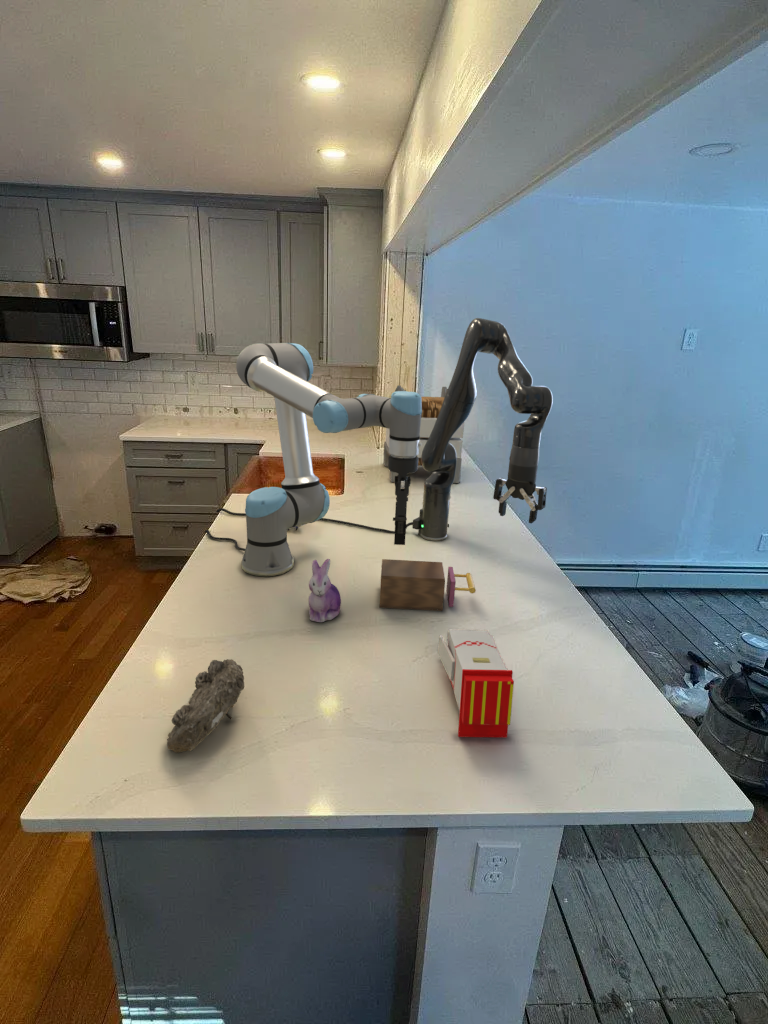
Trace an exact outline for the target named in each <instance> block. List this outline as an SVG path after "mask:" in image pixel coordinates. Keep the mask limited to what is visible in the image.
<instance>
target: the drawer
mask: <svg viewBox="0 0 768 1024" xmlns="http://www.w3.org/2000/svg"><path fill="white" fill-rule="evenodd" d="M456 578H465V579H466V582H467V583H466V584H467V587H456V583H457V582H456ZM445 588H446V590H445V591H446V592H445V593H446V597H447V603H448V607H449V608H453V607H454V606H455V605H454V604H455V593H456V591H459V592H460V591H461V592H469V593H470V594H475V593H476V590H477V589H476V586H475V582H474V578H473V575H472V573H471V572H467V573H466V574H462V573H455V572H454V567H453V566H448V567H447V577H446V584H445V585H444V589H445ZM444 597H445V595H444V596H443V600H444Z"/></svg>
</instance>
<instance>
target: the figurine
mask: <svg viewBox="0 0 768 1024" xmlns="http://www.w3.org/2000/svg"><path fill="white" fill-rule="evenodd" d="M330 566H331V558H326V559H325V560H324V562H323V563H322V565H321V566H320V564H319V562H318V561H317V559H313V560H312V562H311V570H312V575H311V577H310V579H309V581H308V588H309V591H310V594H309V596H308V607H309V610H308V615H309V620H310V621H311V622H317V623H323V622H326V621H331V620H333V619H335V618H336V617H338V616H339V615H340V612H341V606H342V597H341V592H340V591H339V589H338V587H337V586H336V585H335V584H333V583H332V581H331V578H330V577H329V575H328V574H329V570H330Z"/></svg>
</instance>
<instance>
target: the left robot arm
mask: <svg viewBox="0 0 768 1024" xmlns="http://www.w3.org/2000/svg"><path fill="white" fill-rule="evenodd" d="M235 368H236V373H237V376H238V377H239V379H240V381H241V382H242V383H243V384H244V385H245V386H246V387H248V388H250V389H252V390H254V391H256V392H265V393H267V394H268V395H270V396H272V397H273V398H274V405H275V411H276V419H277V420H276V421H277V427H278V433H279V434H278V435H279V442H280V448H281V456H282V463H283V469H284V476H285V477H284V479H282V481H281V483H280V486H281V487H279V486H269V487H268V486H265V487H260V488H257V489H255V490H253V491H252V492H250V493H249V494H248V495H247V497H246V499H245V507H244V513H246V516H245V522H246V523H245V524H246V525H245V526H246V545H245V547H240V546H239V545H238V544H239V543H238V541H237V540H236V539H234V538H231V537H217V536H213V534H211V531H210V530H209V529H205V530H204V534H207V535H208V537H209V538H210V539H212V540H216V541H230V542H233V543H234V547H235V549H236V550H238V551H241V552H243V554H242V559H241V569H242V570H243V572H245V573H246V574H249V575H252V576H254V577H255V576H256V577H274V576H275V577H276V576H280V575H283V574H286V573H287V572H289V571H291V570H292V569H293V568H294V561H295V557H294V556H293V554H292V551H291V549H290V545H289V542H288V530H287V529H289V530H290V529H295V528H296V527H297V526H300V525H301V526H303V525H308V524H312V523H315V522H317V521H320V520H319V519H321V518H325V516H326V514H327V513H328V511H329V509H330V500H331V499H330V493H329V490H328V489H327V488H326V486H325V485H324V484H322V483H321V482H320V478H319V477H318V476H317V475H316V474H315V473H314V468H313V461H312V452H311V445H310V435H309V428H308V422H307V416H308V417H310V418H311V419H312V422H313V424H314V426H316V429H317V430H318V431H319V432H321V433H323V434H330V433H331V434H337V433H341V432H346V431H353V430H357V429H358V430H359V429H364V428H371V427H380V428H384V429H386V428H389V429H390V435H389V453H390V454H391V455H389V458H388V467H387V469H388V471H389V472H390V471H392V472H394V473H395V472H396V473H398V476H395V482H394V495H395V496H396V497H395V507H394V508H395V511H394V517H392V521H393V522H394V531H395V533H394V536H393V537H394V538H393V539H394V540H393V545H394V546H395V545H398V546H406V534H407V533H406V532H407V528H406V524H407V520H408V517H407V510H408V509H407V508H408V502H409V497H408V496H409V495H410V486H411V476H408V475H409V474H414V473H417V472H418V470H419V466H418V459H419V458H418V456H417V455H418V454H419V447H420V446H422V443H419V439H420V424H421V414H422V398H421V397H422V395H421V394H420V393H419V392H416V391H409V390H408V391H407V390H406V391H396V392H395V391H393V392H392V393H391V395H390V397H387V396H382V395H378V394H374V393H370V394H369V393H361V394H359V395H357V396H356V397H350V398H348V397H347V398H340V397H338V396H337V395H335V394H333V393H331V392H329V391H327V390H325V389H323V388H322V387H319V386H317V385H315V384H313V383H311V382H309V381H310V380H311V379H312V377H313V374H314V363H313V358H312V357H311V353H309V351H308V350H307V349H306V348H305V347H304V346H303V345H302V344H299V343H295V342H293V343H292V342H273V343H272V342H271V343H268V342H267V343H259V342H258V343H253V344H250V345H248V346H245V348H243V349H242V350H241V351H240V352H239V354H238V356H237V358H236V361H235ZM418 446H419V447H418ZM301 526H300V527H301ZM294 527H295V528H294Z"/></svg>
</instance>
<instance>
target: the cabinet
mask: <svg viewBox="0 0 768 1024" xmlns="http://www.w3.org/2000/svg"><path fill="white" fill-rule="evenodd" d="M444 585H445V586H446V576H445V571H444V564H443V562H442V561H428V560H426V561H425V560H410V559H409V560H405V559H390V558H389V559H388V558H386V559H385V558H382V559H381V571H380V587H379V588H380V589H379V590H380V592H379V609H395V610H397V609H398V610H399V609H400V610H414V611H415V610H416V611H437V612H443V607H444V599H443V596H444V597H445V588H444Z"/></svg>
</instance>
